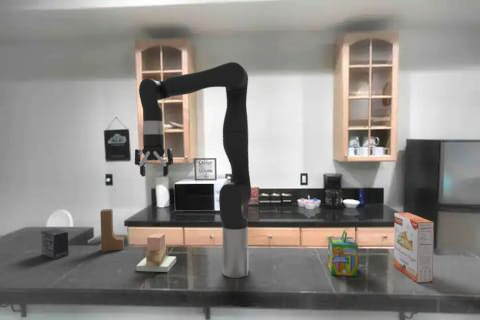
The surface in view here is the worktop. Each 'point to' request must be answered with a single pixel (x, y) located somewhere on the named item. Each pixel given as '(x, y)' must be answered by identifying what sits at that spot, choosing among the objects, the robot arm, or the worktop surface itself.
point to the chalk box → (342, 255)
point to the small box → (54, 243)
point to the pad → (164, 266)
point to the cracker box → (414, 246)
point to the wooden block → (109, 232)
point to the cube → (155, 242)
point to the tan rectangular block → (155, 257)
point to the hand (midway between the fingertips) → (154, 176)
